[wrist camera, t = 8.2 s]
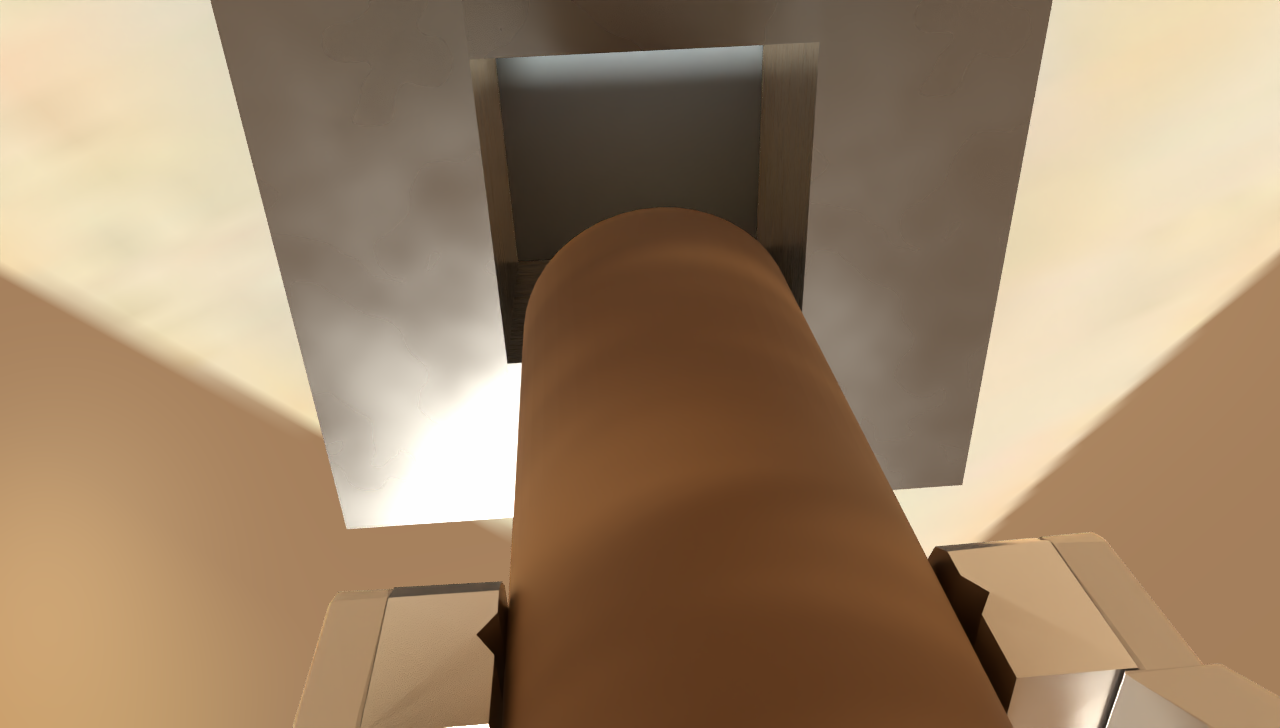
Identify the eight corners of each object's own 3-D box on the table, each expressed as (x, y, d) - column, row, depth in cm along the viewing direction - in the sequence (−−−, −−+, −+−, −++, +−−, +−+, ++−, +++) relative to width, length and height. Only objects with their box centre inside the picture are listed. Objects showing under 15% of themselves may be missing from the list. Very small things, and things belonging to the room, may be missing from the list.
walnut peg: (801, 199, 13) (1880, 1832, 2) (785, 436, 15) (1331, 1867, 4) (510, 216, 12) (310, 2105, 2) (536, 453, 14) (495, 2005, 4)
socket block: (972, -230, 18) (1098, -245, 14) (895, 372, 25) (962, 484, 21) (255, -204, 18) (156, -211, 13) (384, 406, 25) (347, 528, 20)
